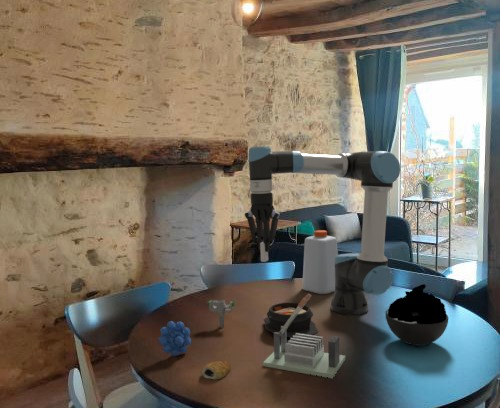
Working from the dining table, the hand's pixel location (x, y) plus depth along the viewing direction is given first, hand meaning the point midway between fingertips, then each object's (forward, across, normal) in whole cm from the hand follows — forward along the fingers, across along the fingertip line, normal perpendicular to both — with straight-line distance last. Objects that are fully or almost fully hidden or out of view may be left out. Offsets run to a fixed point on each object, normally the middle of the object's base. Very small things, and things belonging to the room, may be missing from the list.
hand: (264, 260), depth 167 cm
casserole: (+29, +3, +12) cm, 31 cm away
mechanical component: (+28, -22, +5) cm, 36 cm away
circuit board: (+29, +18, -11) cm, 36 cm away
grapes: (+28, -21, -24) cm, 43 cm away
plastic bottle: (+29, -5, +67) cm, 73 cm away
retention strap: (+15, +15, -11) cm, 24 cm away
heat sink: (+28, +19, -11) cm, 35 cm away
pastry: (+29, -3, -29) cm, 41 cm away
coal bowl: (+30, +46, +19) cm, 58 cm away
